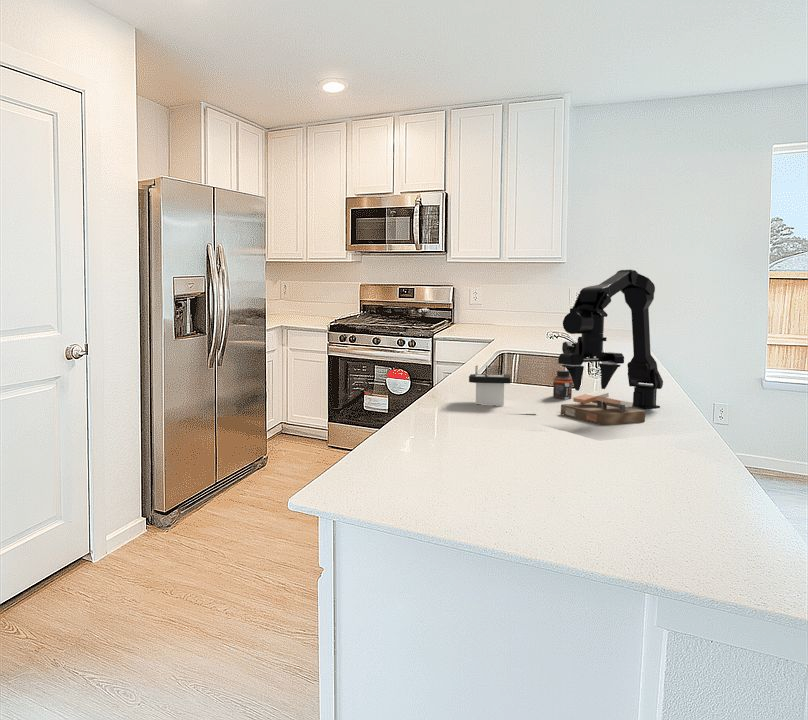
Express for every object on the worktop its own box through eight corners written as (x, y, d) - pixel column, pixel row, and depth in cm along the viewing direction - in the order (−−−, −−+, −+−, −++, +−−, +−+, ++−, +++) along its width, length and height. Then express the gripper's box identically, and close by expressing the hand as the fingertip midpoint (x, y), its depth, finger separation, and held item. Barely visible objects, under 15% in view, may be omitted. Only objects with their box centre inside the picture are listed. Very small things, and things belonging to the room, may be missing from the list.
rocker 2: (617, 407, 171) (618, 400, 171) (632, 410, 166) (633, 403, 166) (593, 402, 167) (595, 395, 167) (608, 405, 162) (610, 398, 162)
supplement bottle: (572, 406, 193) (573, 371, 192) (553, 405, 194) (554, 371, 193) (570, 403, 199) (571, 370, 198) (552, 402, 200) (553, 369, 199)
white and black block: (532, 402, 199) (533, 363, 198) (536, 415, 173) (537, 370, 173) (449, 400, 204) (450, 362, 203) (441, 412, 178) (442, 368, 177)
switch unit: (599, 411, 182) (600, 395, 182) (644, 421, 166) (645, 404, 166) (559, 414, 176) (560, 397, 176) (602, 425, 160) (603, 407, 159)
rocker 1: (596, 397, 179) (595, 390, 179) (610, 399, 174) (609, 392, 174) (573, 404, 176) (572, 397, 175) (586, 407, 171) (585, 400, 170)
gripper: (598, 332, 173) (596, 384, 174) (546, 332, 165) (544, 387, 166) (626, 333, 163) (624, 389, 164) (572, 334, 155) (570, 392, 156)
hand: (590, 389), depth 163 cm, fingers open, 9 cm apart
